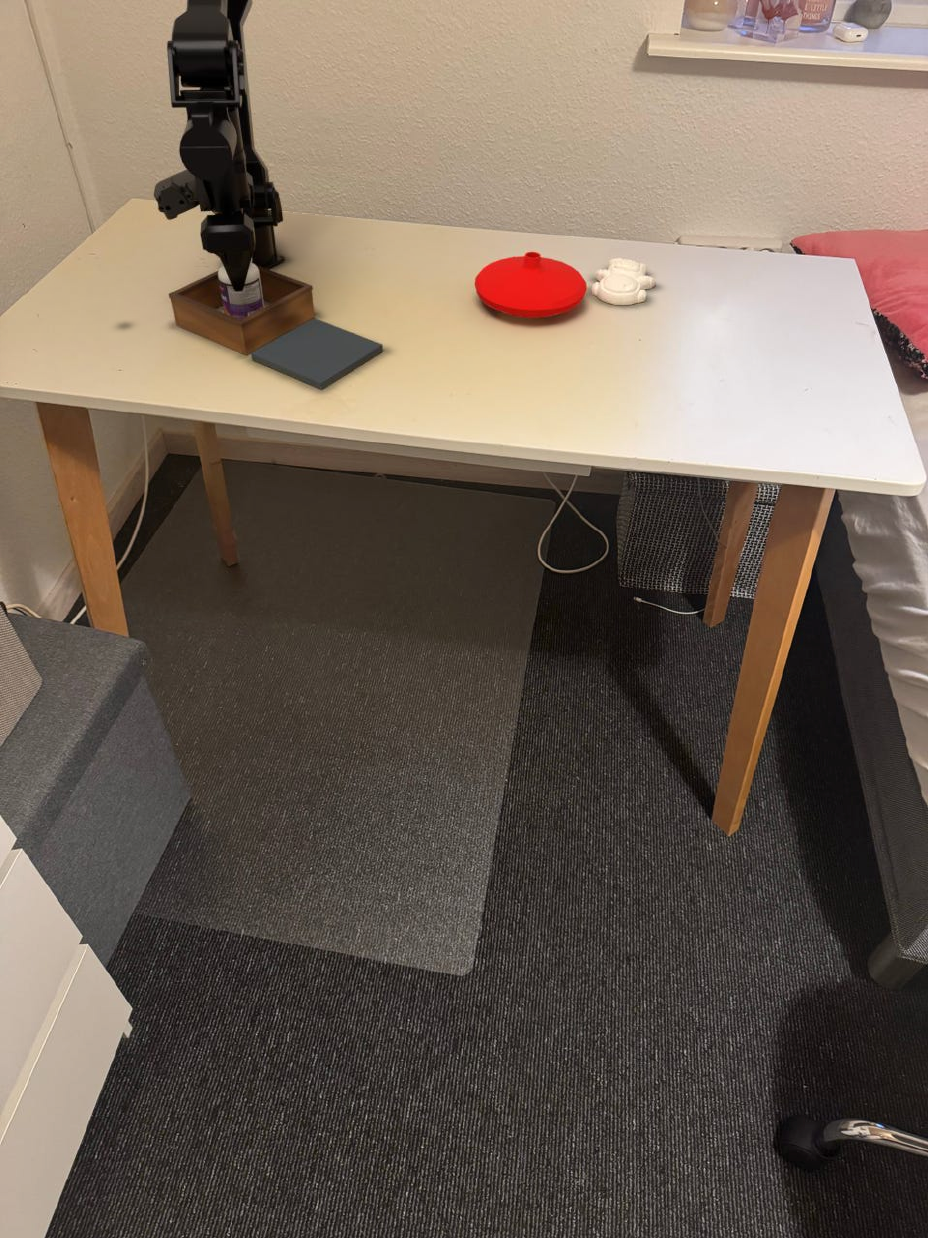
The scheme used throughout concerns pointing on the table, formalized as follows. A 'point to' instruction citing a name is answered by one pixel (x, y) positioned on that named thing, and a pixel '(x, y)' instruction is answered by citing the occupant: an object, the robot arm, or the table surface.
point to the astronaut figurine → (622, 282)
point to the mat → (317, 353)
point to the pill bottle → (241, 293)
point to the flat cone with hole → (530, 286)
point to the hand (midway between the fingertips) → (238, 274)
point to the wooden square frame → (254, 330)
